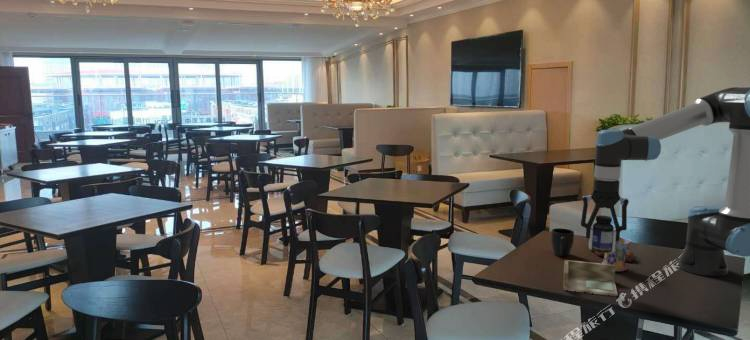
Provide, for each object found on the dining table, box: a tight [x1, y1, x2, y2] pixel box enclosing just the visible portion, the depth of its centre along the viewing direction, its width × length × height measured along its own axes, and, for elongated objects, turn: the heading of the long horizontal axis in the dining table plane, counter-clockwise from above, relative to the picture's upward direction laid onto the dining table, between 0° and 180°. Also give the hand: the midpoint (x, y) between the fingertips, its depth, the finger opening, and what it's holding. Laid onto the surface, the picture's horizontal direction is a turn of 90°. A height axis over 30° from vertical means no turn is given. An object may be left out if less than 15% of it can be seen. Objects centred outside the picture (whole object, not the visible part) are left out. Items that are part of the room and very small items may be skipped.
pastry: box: [586, 242, 635, 263], centre depth 209 cm, size 17×15×8 cm
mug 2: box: [601, 237, 631, 273], centre depth 193 cm, size 12×9×11 cm
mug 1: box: [550, 227, 575, 258], centre depth 206 cm, size 8×12×10 cm
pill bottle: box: [592, 215, 615, 253], centre depth 172 cm, size 6×6×11 cm
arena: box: [562, 259, 619, 297], centre depth 176 cm, size 16×14×6 cm
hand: (601, 249), depth 173 cm, fingers closed on pill bottle, 6 cm apart
